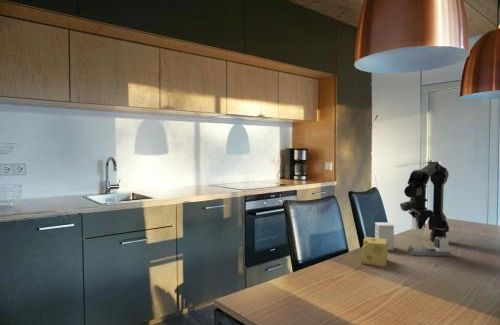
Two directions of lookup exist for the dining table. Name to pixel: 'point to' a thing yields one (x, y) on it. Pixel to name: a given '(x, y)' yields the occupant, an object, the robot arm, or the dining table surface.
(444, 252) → the rail
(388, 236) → the supplement box
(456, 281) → the dining table surface
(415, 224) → the block
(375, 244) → the cheese
